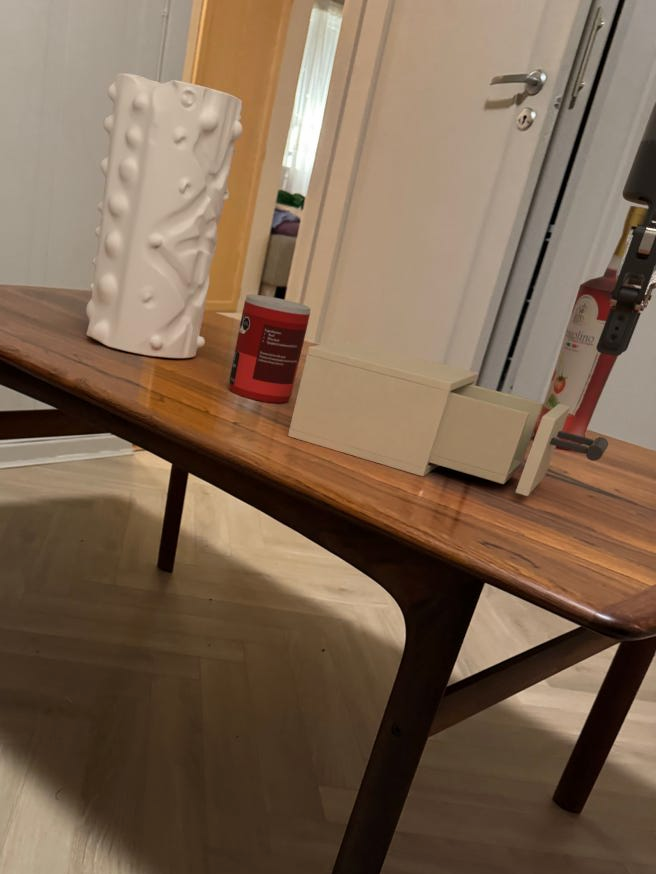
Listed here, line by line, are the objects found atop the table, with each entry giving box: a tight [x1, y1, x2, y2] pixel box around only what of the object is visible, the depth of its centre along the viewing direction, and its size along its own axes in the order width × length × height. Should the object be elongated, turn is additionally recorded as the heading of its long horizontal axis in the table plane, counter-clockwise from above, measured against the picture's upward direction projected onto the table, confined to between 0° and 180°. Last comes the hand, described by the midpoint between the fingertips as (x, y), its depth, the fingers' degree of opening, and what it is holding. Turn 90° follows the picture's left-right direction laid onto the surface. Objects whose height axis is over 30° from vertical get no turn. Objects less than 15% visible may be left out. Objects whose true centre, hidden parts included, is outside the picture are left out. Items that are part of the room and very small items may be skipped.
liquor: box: [533, 205, 648, 451], centre depth 111 cm, size 7×7×28 cm
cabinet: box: [287, 340, 479, 477], centre depth 94 cm, size 15×13×9 cm
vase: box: [85, 72, 243, 359], centre depth 120 cm, size 17×16×32 cm
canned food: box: [228, 294, 311, 404], centre depth 109 cm, size 8×8×11 cm
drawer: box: [429, 384, 609, 497], centre depth 90 cm, size 18×11×7 cm, turn 61°
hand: (610, 351), depth 83 cm, fingers open, 5 cm apart
